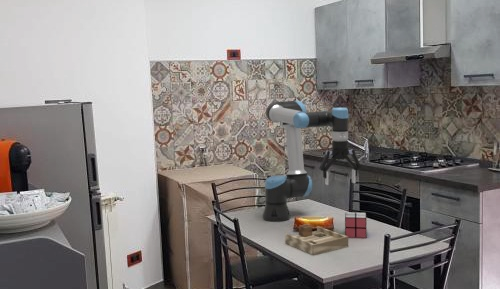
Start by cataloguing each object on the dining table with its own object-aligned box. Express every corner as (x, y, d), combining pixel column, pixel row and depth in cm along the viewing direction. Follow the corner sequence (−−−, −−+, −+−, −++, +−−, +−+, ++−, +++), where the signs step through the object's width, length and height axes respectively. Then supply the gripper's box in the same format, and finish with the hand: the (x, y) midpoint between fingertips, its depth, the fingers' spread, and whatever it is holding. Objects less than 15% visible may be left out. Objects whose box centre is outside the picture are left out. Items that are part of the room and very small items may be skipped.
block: (298, 235, 240) (298, 225, 239) (306, 233, 242) (306, 224, 242) (304, 237, 236) (304, 227, 235) (312, 235, 238) (312, 226, 238)
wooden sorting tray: (285, 243, 236) (285, 233, 236) (318, 235, 247) (318, 226, 246) (313, 255, 218) (313, 245, 218) (348, 246, 229) (348, 236, 228)
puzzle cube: (366, 238, 240) (366, 217, 239) (345, 237, 242) (345, 217, 241) (366, 232, 250) (366, 212, 249) (345, 231, 252) (345, 212, 251)
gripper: (317, 142, 235) (317, 186, 238) (368, 139, 239) (367, 183, 242) (312, 140, 242) (313, 183, 245) (361, 138, 247) (361, 180, 249)
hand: (340, 183), depth 244 cm, fingers open, 13 cm apart
